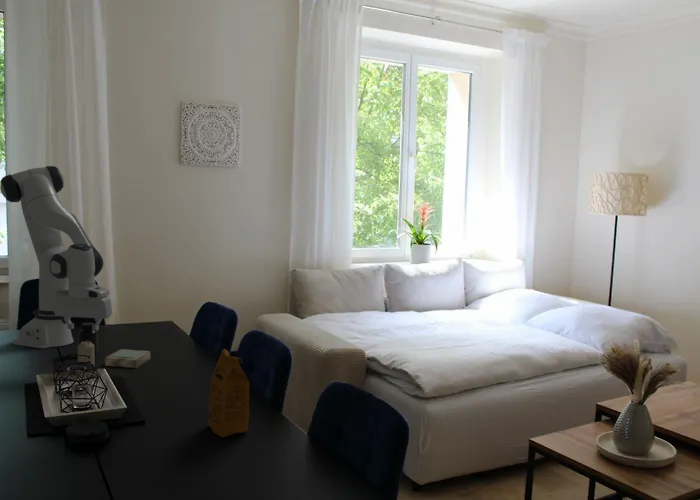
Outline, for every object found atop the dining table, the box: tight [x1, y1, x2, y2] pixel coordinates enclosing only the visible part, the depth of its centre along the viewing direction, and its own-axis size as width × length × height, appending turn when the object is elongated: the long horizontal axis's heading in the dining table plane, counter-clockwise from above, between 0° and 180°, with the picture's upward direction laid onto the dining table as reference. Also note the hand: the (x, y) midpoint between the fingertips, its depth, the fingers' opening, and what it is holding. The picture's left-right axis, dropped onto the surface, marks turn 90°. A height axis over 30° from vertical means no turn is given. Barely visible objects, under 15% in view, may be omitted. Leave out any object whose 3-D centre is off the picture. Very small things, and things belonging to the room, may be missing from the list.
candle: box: [77, 341, 95, 366], centre depth 232 cm, size 6×6×10 cm
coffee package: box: [208, 348, 250, 438], centre depth 183 cm, size 10×12×22 cm
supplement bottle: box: [78, 322, 99, 356], centre depth 251 cm, size 7×7×12 cm
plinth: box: [104, 348, 151, 369], centre depth 243 cm, size 12×12×3 cm
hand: (83, 329), depth 230 cm, fingers open, 8 cm apart
